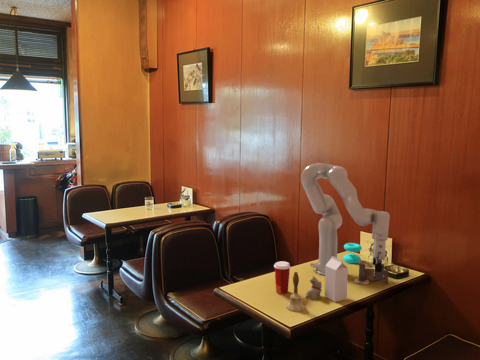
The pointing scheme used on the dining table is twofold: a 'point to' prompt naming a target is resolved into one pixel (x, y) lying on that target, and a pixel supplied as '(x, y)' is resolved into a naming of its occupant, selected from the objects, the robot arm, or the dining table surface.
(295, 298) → the hand bell
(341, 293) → the milk carton
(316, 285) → the chocolate bunny
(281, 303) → the dining table surface
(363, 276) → the bobbin
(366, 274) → the notch board
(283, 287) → the paper cup
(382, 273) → the dark upright block
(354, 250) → the donuts
